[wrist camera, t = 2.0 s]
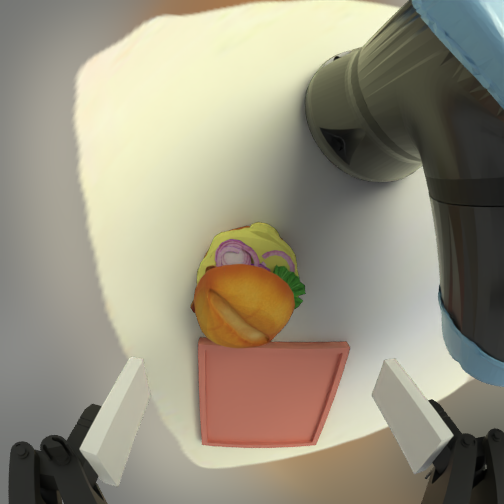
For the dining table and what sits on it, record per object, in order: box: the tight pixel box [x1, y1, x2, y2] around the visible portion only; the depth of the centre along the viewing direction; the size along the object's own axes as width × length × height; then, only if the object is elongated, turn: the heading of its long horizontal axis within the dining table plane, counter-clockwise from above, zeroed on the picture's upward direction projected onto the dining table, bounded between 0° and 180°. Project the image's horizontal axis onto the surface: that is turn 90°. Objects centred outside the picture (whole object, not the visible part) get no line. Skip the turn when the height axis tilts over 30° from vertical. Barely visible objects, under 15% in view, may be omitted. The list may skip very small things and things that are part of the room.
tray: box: [198, 337, 350, 448], centre depth 33 cm, size 20×18×2 cm
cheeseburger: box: [191, 222, 306, 348], centre depth 26 cm, size 10×11×10 cm
